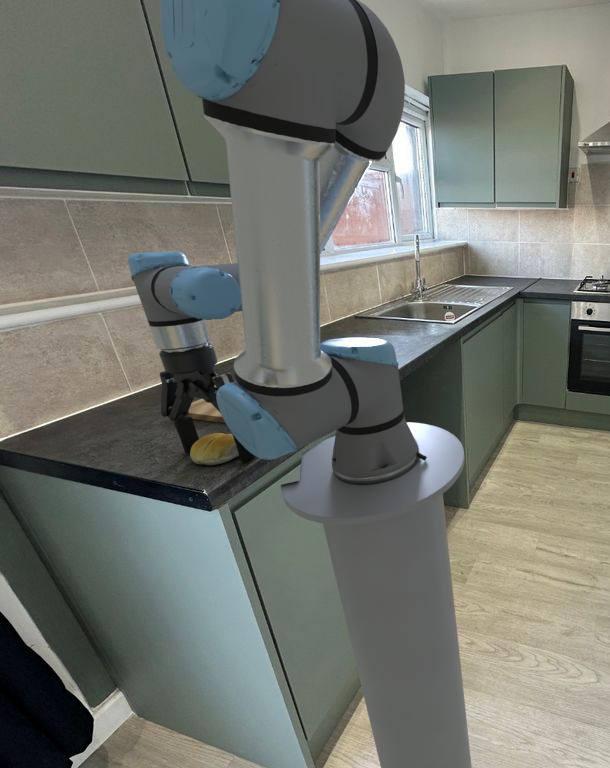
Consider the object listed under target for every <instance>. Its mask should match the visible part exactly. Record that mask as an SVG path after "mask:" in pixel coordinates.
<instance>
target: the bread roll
mask: <svg viewBox="0 0 610 768" xmlns="http://www.w3.org/2000/svg"><path fill="white" fill-rule="evenodd" d="M189 456H190V459H191V461H192V462H193V463H194V464H197V465H206V466H215V465H220V464H225V463H227V462H230V461H232V460H234V459H235V458H238V457H239V454H238V450H237V447H236V444H235V441H234V437H233V434H232V433H221V432H214V433H210V434H207V435H204V436H202V437H200V438H199V440H197V441H196V442H195V443H194V444H193V446H192V447H191V451H190V452H189Z"/></svg>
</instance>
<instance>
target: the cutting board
mask: <svg viewBox="0 0 610 768" xmlns="http://www.w3.org/2000/svg"><path fill="white" fill-rule="evenodd" d="M188 412H190V413H191V414H189V415H187V416H185V417H188V416H191V417H192V420H197V421H206V422H212V423H213V422H214V423H219V424H221V423H222V424H226V422H225V421H224V419H223V417H222V415H221V413H220V412H219V411H218V410H217V409H216V408H215V407H214V406H213V405H212V404H211V403H208V402H206V401H205V400H204V399H200V398H199V399H197V400H195V401H192V403H191V406H190V408H189V411H188Z"/></svg>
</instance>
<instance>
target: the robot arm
mask: <svg viewBox="0 0 610 768" xmlns="http://www.w3.org/2000/svg"><path fill="white" fill-rule="evenodd" d="M159 5H160V24H161V34H162V39H163V40H162V41H163V45H164V48H165V52H166V55H167V56H168V57H169V59H171V69H172V71H173V73H174V74H175V76H176V78H177V79H178V81H179V82H180V84H182V85H183V86H184V87H185V88H186V90H188V92H191V93H193V94H194V95H195V96H197V97H198V98H199V99H201V101H202V109H203V118H204V119H205V120H206V121H207V122H208V123H209V124H210V125H211V126H212V127H213V129H215V131H216V132H217V133H218V135H219V134H220V136H221V137H222V139H223V141H224V142H225V149H226V150H225V151H226V160H227V161H226V162H227V170H228V171H227V172H228V180H229V189H230V190H229V191H230V201H231V202H230V203H231V211H232V221H233V222H232V223H233V230H234V241H235V248H236V249H235V251H236V262H232V263H217V264H208V265H196V266H192V265H190V263H189V260H188V258H187V256H186V254H184V253H183V252H182V251H178V250H176V251H175V250H174V251H173V250H169V251H150V252H149V251H148V252H147V251H146V252H135V253H132V254H130V255H128V257H127V264H128V268H129V271H130V280H132V282H133V283H134V286H135V289H136V292H137V295H138V298H139V300H140V303H141V306H142V308H143V311H144V314H145V317H146V319H147V322H148V326H149V329H150V332H151V335H152V339H153V342H154V344H155V348H157V349H158V350H160V352H159V354H158V355H159V358H160V360H161V363H162V366H163V369H164V371H160V372H159V378H160V382H161V396H160V397H161V398H160V399H161V400H160V415H161V416H162V417H163V418H166V417H168V418H169V420H170V421H171V422H173V424H174V427H175V429H176V432H177V435H178V436H179V439H180V440H179V441H180V442H181V445H182V448H183V451H184V453H185V454H190V451H191V447H192V446H193V444H194V443H195V442H196V441H197V440H199V439H200V438H199V435H198V432H197V429H196V425H195V423H194V419H192V417H191V416H188V417H185V416H187V415H189V414H191V413H190V412H188V411H189V408H190V406H191V403H192V402H194V401H193V400H194V398H197V399H199V400H200V399H204V400H205V401H206V402H208V403H211V404H212V405H213V406H214V407H215V408H216V409H217V410H218V411H219V412H220V413H221V415H222V417H223V419H224V421H225V422H226V423H225V424H226V426H227V428H228V429H229V431H230V432H231V434H233V437H234V441H235V444H236V447H237V450H238V454H239V456H238V457H239V459H240V462H241V463H246V462H248V461H249V460H251V459H252V458H254V457H256V458H259V459H262V460H267V461H271V460H277V459H279V458H281V457H283V456H286V455H288V454H291V453H295V452H297V451H298V450H299V449H302V448H303V447H306V446H307V445H309V444H311V443H313V442H316V441H317V440H320V439H322V438H323V437H326V436H327V435H330V434H331V433H334V432H335V435H334V436H335V442H334V448H333V455H332V469H333V473H334V475H335V477H336V478H337V479H338V480H340V481H342V482H344V483H348V484H352V485H372V484H379V483H383V482H387V481H390V480H393V479H395V478H398V477H400V476H402V475H404V474H405V473H407V472H408V471H410V470H411V469H412V468H413V467H414V466H415V465H416V464H417V462H418V460H419V458H420V459H422V460H424V461H425V460H426V458H427V457H426V456H424V455H422V454H421V453H419V446H418V444H417V441H416V440H415V438H414V436H413V434H412V432H411V430H410V428H409V426H408V424H407V419H406V417H405V411H404V403H403V395H402V388H401V379H400V372H399V370H400V369H399V362H398V360H397V355H396V349H395V347H394V345H393V344H392V343H391V342H389V341H388V340H386V339H381V338H374V337H341V338H334V339H333V338H332V339H328V340H327V339H326V340H324V341H322V342H321V255H322V253H323V251H324V249H325V248H326V245H327V243H328V241H329V240H330V238H331V237H332V234H333V232H334V231H335V229H336V227H337V226H338V223H339V222H340V220H341V218H342V216H343V214H344V213H345V211H346V209H347V207H348V205H349V204H350V202H351V200H352V198H353V196H354V195H355V193H356V191H357V190H358V187H359V185H360V183H361V182H362V180H363V178H364V176H365V174H366V173H367V171H368V170H369V168H370V165H371V164H372V163H373V162H380V161H382V160H383V159H384V158H385V155H386V154H387V152H388V151H389V149H390V148H391V145H392V143H393V142H394V139H395V138H396V136H397V133H398V130H399V127H400V124H401V121H402V119H403V112H404V108H405V94H406V82H405V76H404V75H405V74H404V73H405V72H404V68H403V67H404V66H403V63H402V60H401V56H400V53H399V51H398V48H397V46H396V43H395V41H394V38H393V37H392V35H391V32H389V30H388V28H387V26H385V24H384V23H383V21H382V20H381V19H380V18H379V16H378V15H377V14H376V13H375V12H374V11H373V10H372V9H370V7H369V6H368V5H366V4H365V3H364V2H362V1H360V0H160V4H159ZM237 312H242V323H243V331H244V343H245V350H243V351H241V353H239V354H238V355H237V356H236V357H235V359H234V361H233V371H234V378H233V376H232V374H231V373H230V372H226V373H223V374H218V373H216V370H215V366H216V365H217V363H218V357H217V354H216V351H215V347H214V345H213V344H212V343H210V341H211V335H210V332H209V329H208V325H207V323H206V321H211V320H223V319H227V318H229V317H231V316H232V315H234V314H235V313H237Z"/></svg>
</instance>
